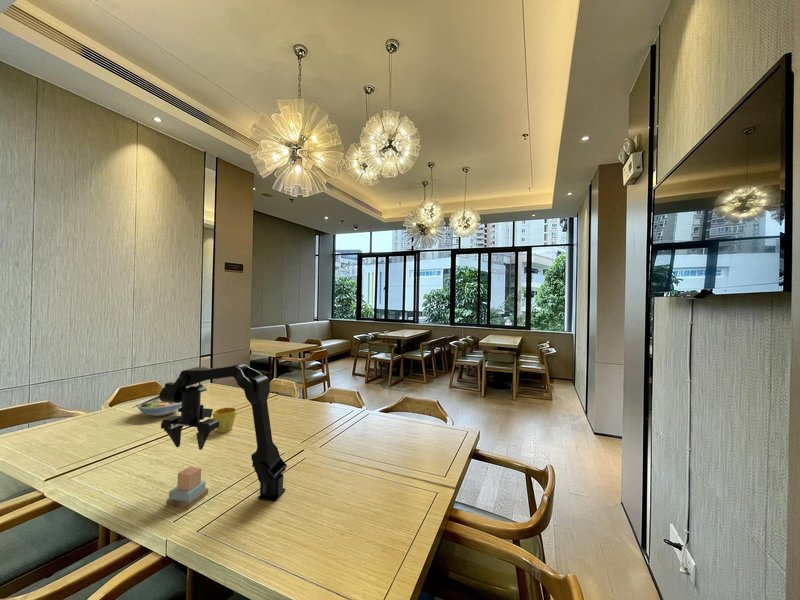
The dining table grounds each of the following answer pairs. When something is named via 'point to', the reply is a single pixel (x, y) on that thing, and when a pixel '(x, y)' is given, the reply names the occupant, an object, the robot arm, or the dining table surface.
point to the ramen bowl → (157, 407)
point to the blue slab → (186, 493)
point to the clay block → (189, 478)
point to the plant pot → (225, 418)
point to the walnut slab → (187, 504)
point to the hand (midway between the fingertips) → (189, 448)
